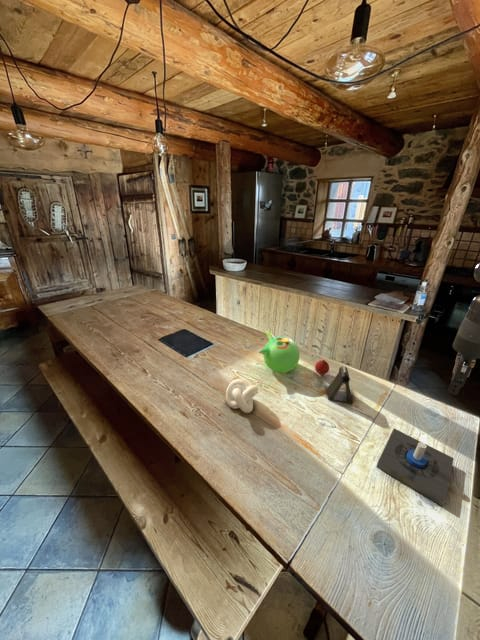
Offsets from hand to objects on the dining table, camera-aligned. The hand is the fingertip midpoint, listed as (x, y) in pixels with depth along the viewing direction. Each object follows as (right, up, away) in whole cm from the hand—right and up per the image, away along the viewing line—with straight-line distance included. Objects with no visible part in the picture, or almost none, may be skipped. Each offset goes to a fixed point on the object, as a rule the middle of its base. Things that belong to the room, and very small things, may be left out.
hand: (454, 385), depth 76 cm
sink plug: (-10, -24, +2) cm, 26 cm away
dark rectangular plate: (-10, -24, +2) cm, 26 cm away
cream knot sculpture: (-61, -13, +23) cm, 67 cm away
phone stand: (-22, -11, +28) cm, 38 cm away
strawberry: (-26, -5, +40) cm, 48 cm away
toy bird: (-43, -3, +45) cm, 63 cm away
